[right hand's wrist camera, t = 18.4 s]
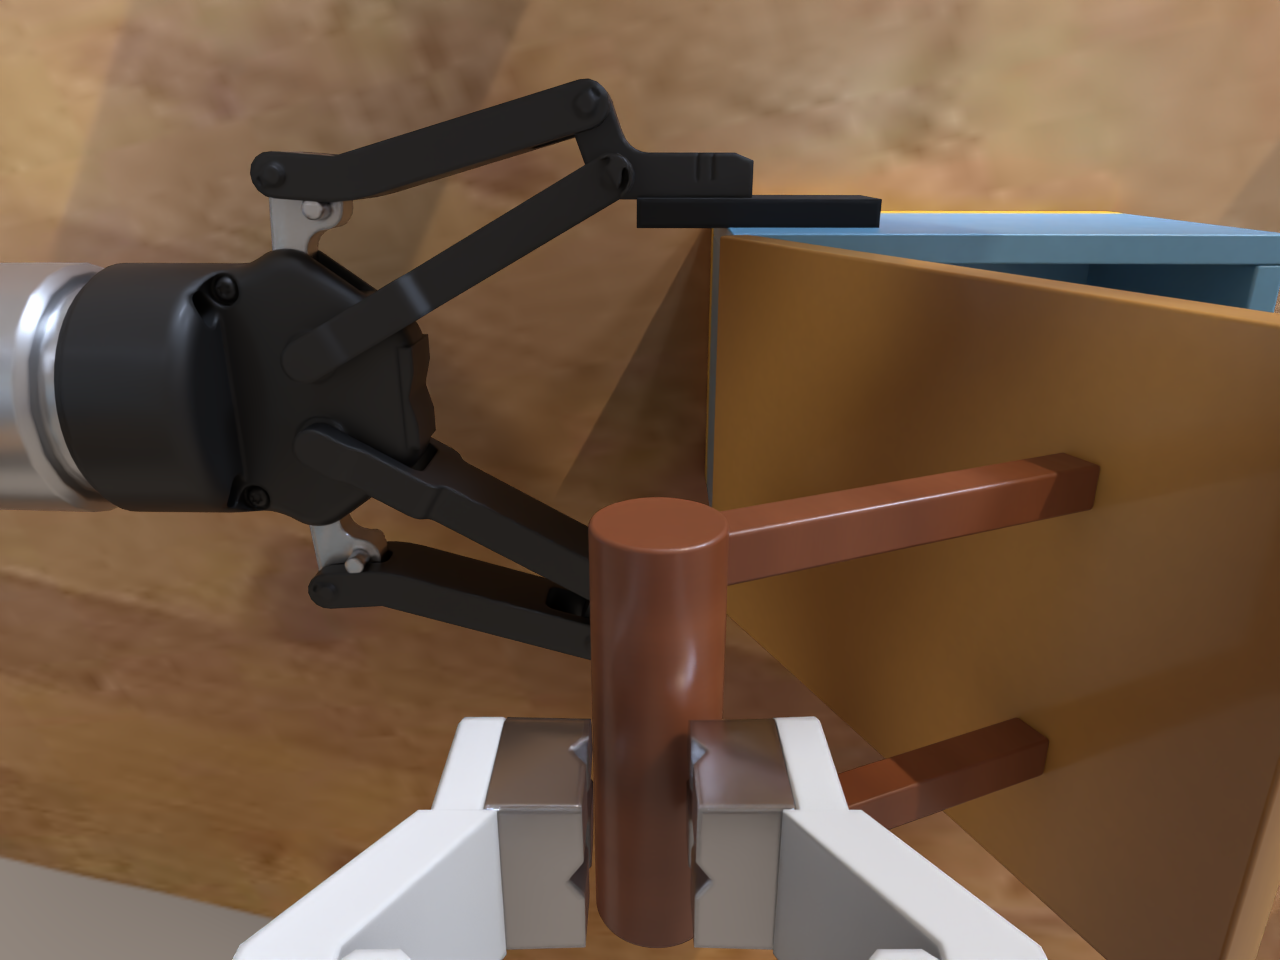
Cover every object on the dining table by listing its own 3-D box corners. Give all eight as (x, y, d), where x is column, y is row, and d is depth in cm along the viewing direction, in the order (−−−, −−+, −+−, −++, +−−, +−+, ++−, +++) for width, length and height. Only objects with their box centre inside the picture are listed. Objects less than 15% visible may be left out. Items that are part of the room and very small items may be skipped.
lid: (1454, 337, 9) (768, 433, 6) (1238, 1024, 13) (722, 1314, 10) (748, 234, 22) (402, 247, 19) (734, 593, 25) (439, 656, 22)
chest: (1109, 211, 31) (1294, 234, 22) (1062, 478, 34) (1206, 594, 25) (712, 210, 31) (731, 232, 22) (705, 475, 34) (719, 589, 25)
